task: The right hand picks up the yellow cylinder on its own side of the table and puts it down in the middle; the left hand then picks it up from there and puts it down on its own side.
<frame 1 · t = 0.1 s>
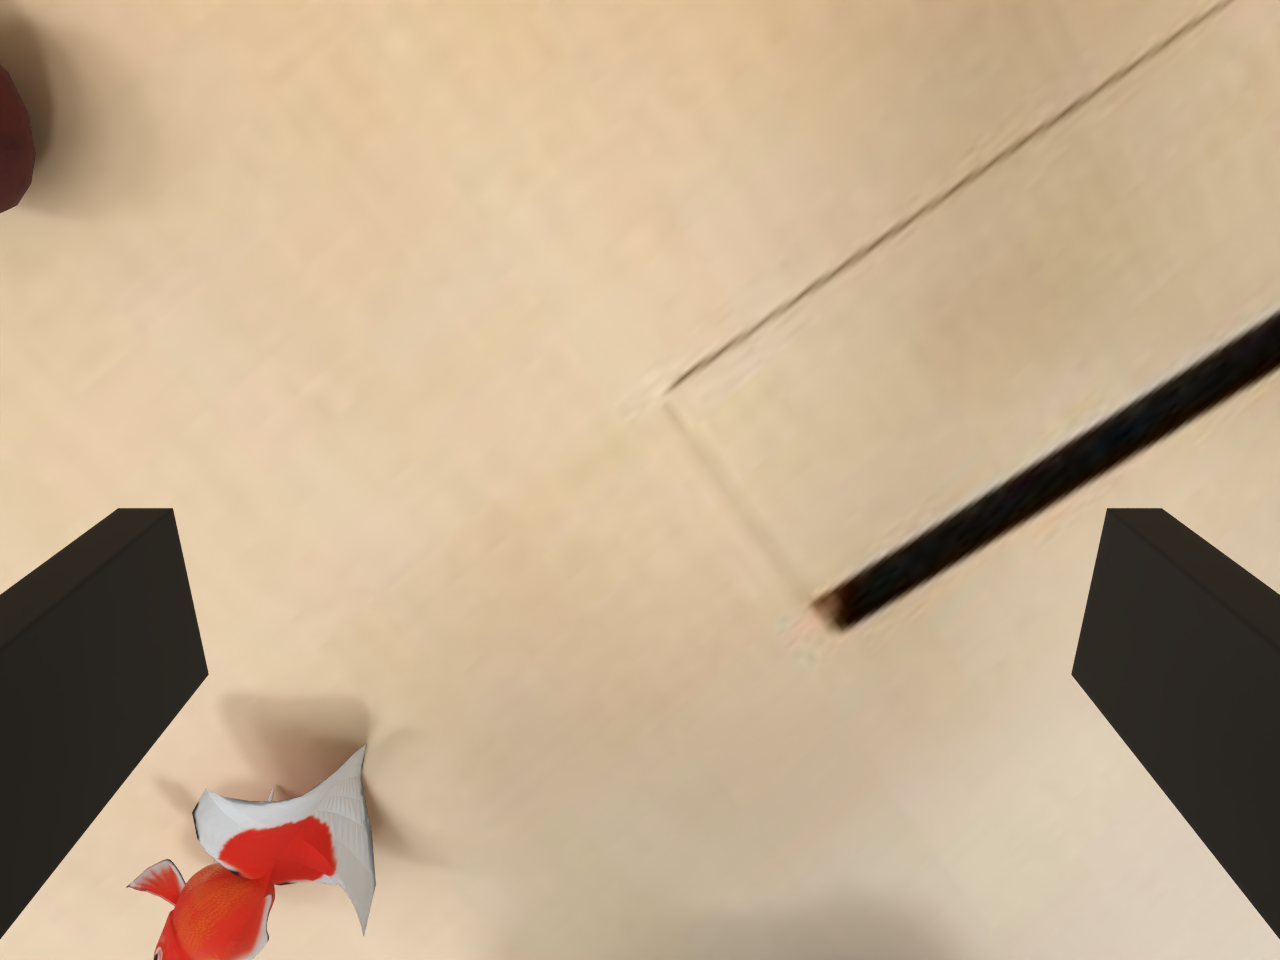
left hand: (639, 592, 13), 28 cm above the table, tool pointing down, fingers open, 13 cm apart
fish: (289, 805, 50), on the table
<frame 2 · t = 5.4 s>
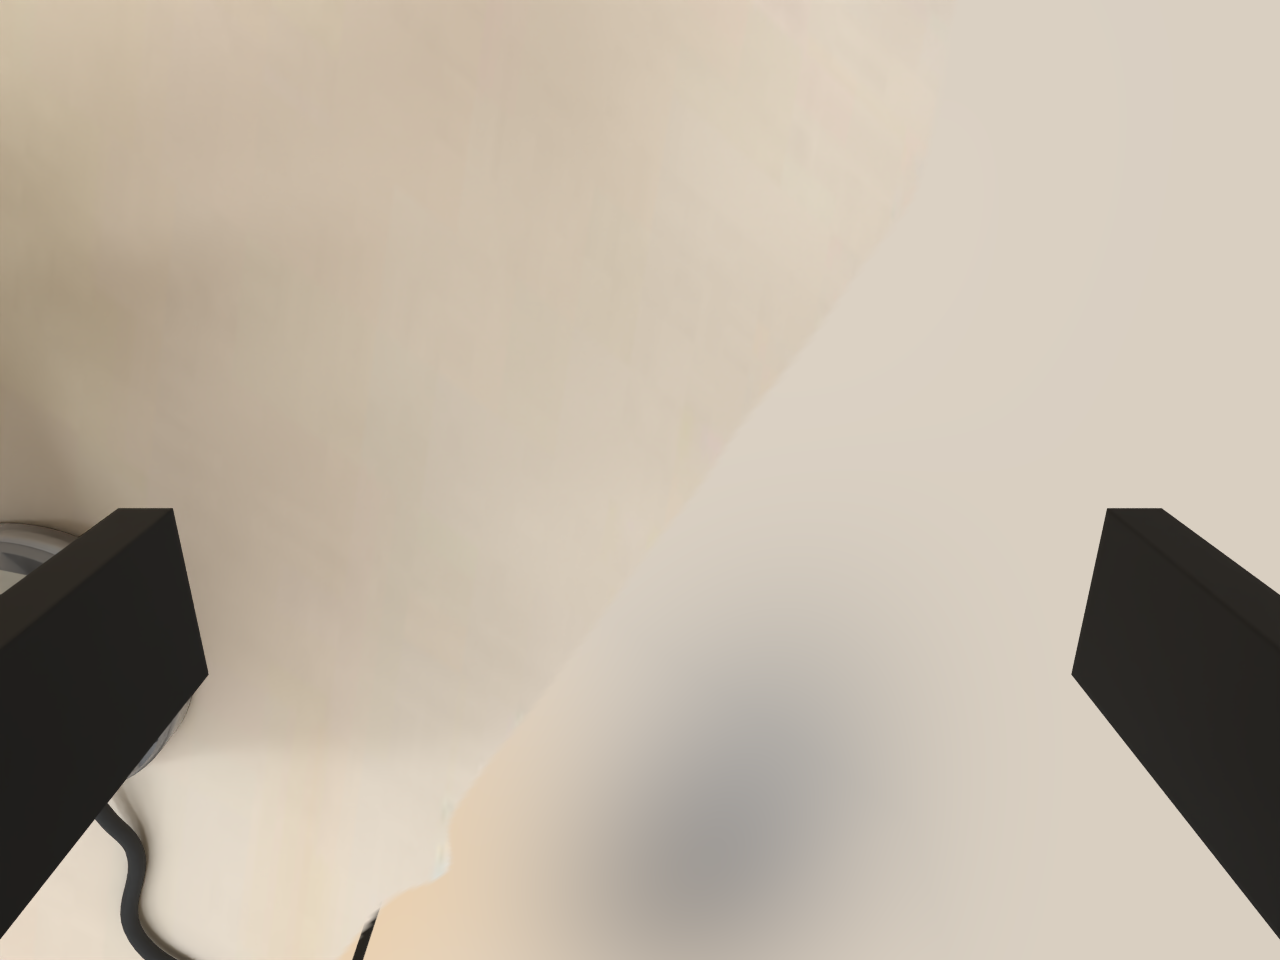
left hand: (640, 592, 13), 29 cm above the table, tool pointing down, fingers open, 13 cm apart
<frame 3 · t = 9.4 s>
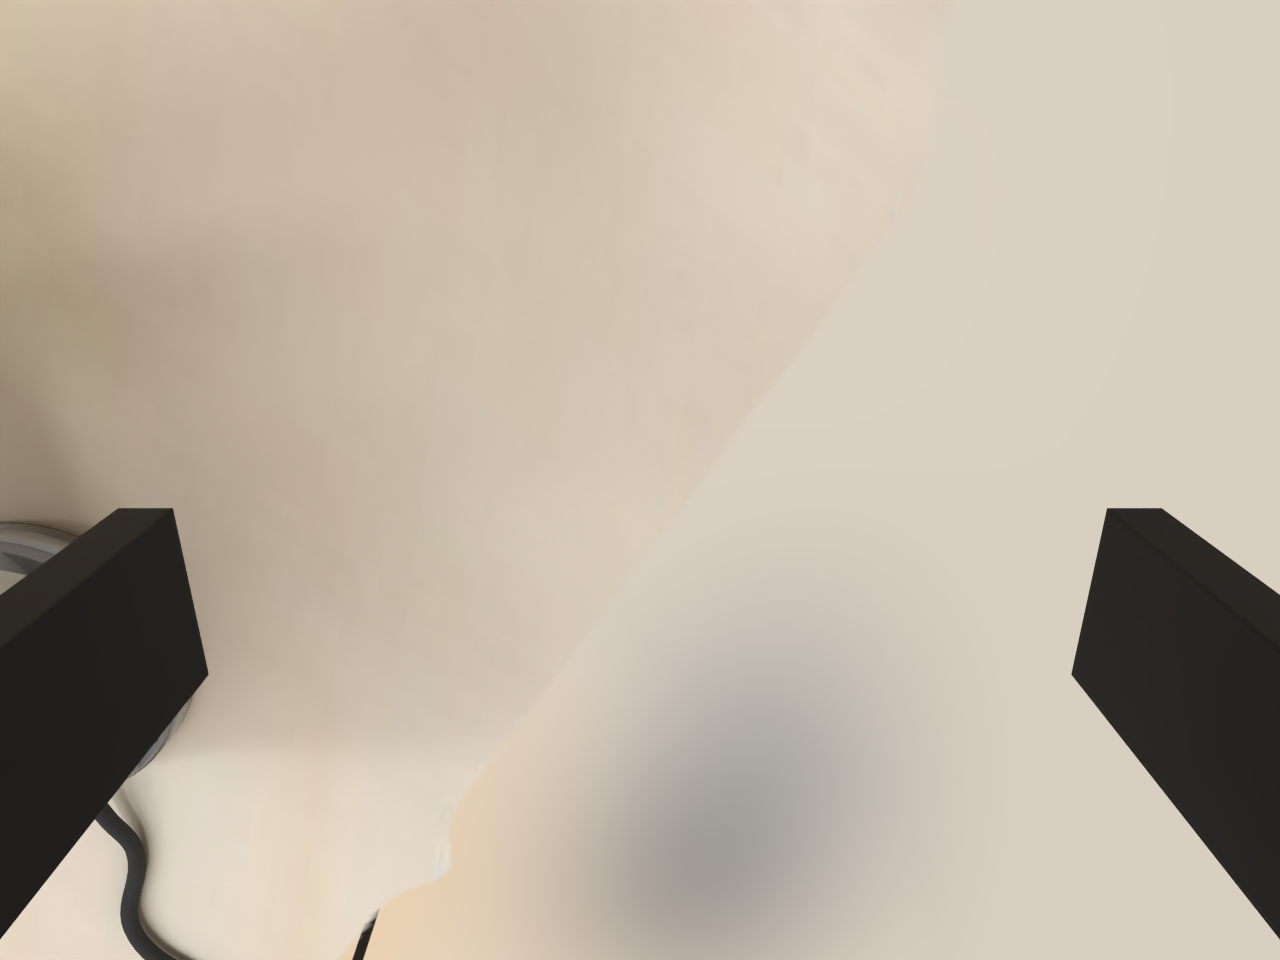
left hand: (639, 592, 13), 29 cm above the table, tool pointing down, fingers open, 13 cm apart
when the right hand's fingers open (1 cm above the table, at t = 13.4 s): yellow cylinder stays where it is, on the table.
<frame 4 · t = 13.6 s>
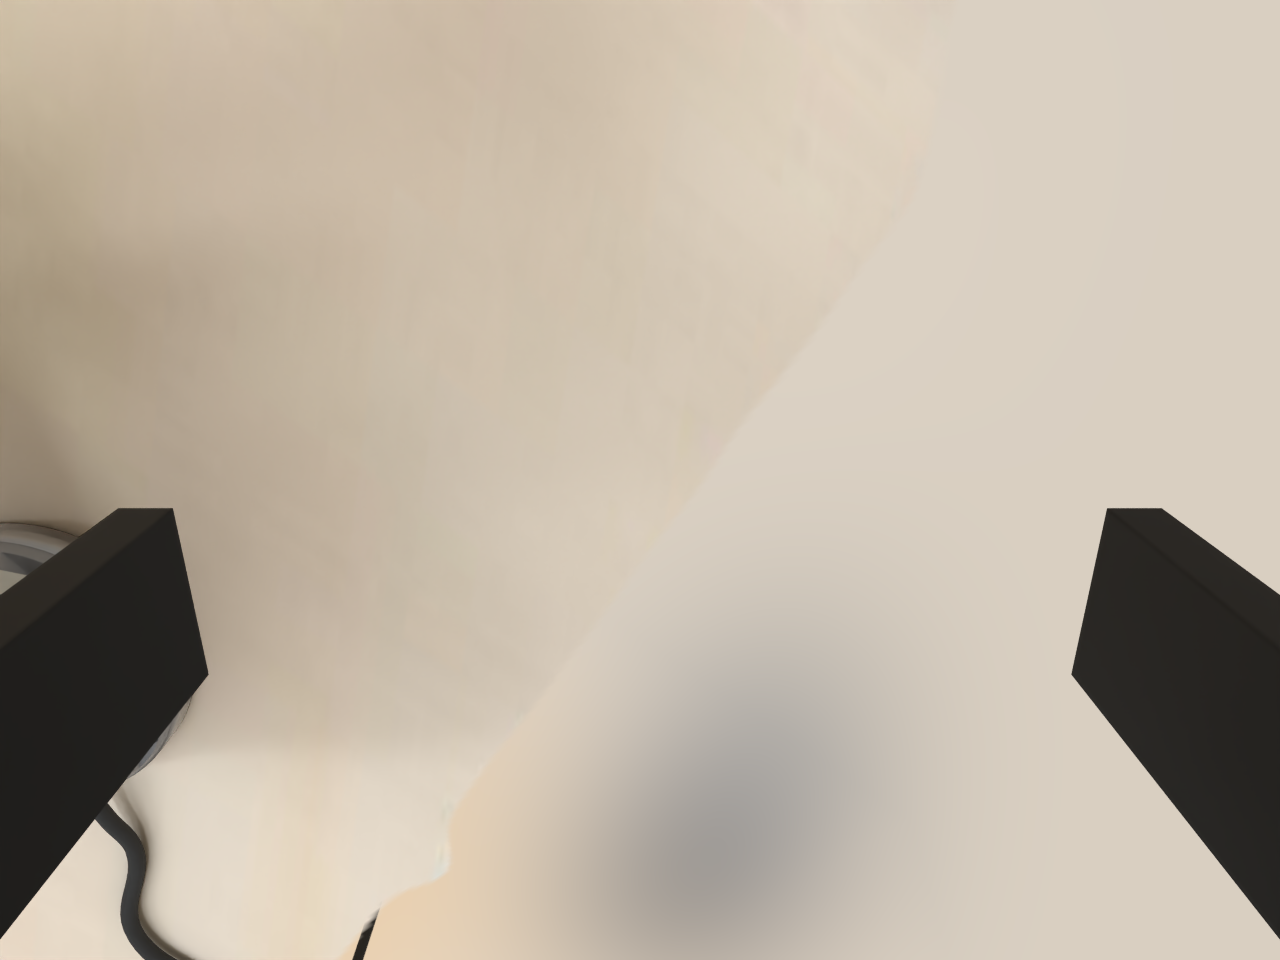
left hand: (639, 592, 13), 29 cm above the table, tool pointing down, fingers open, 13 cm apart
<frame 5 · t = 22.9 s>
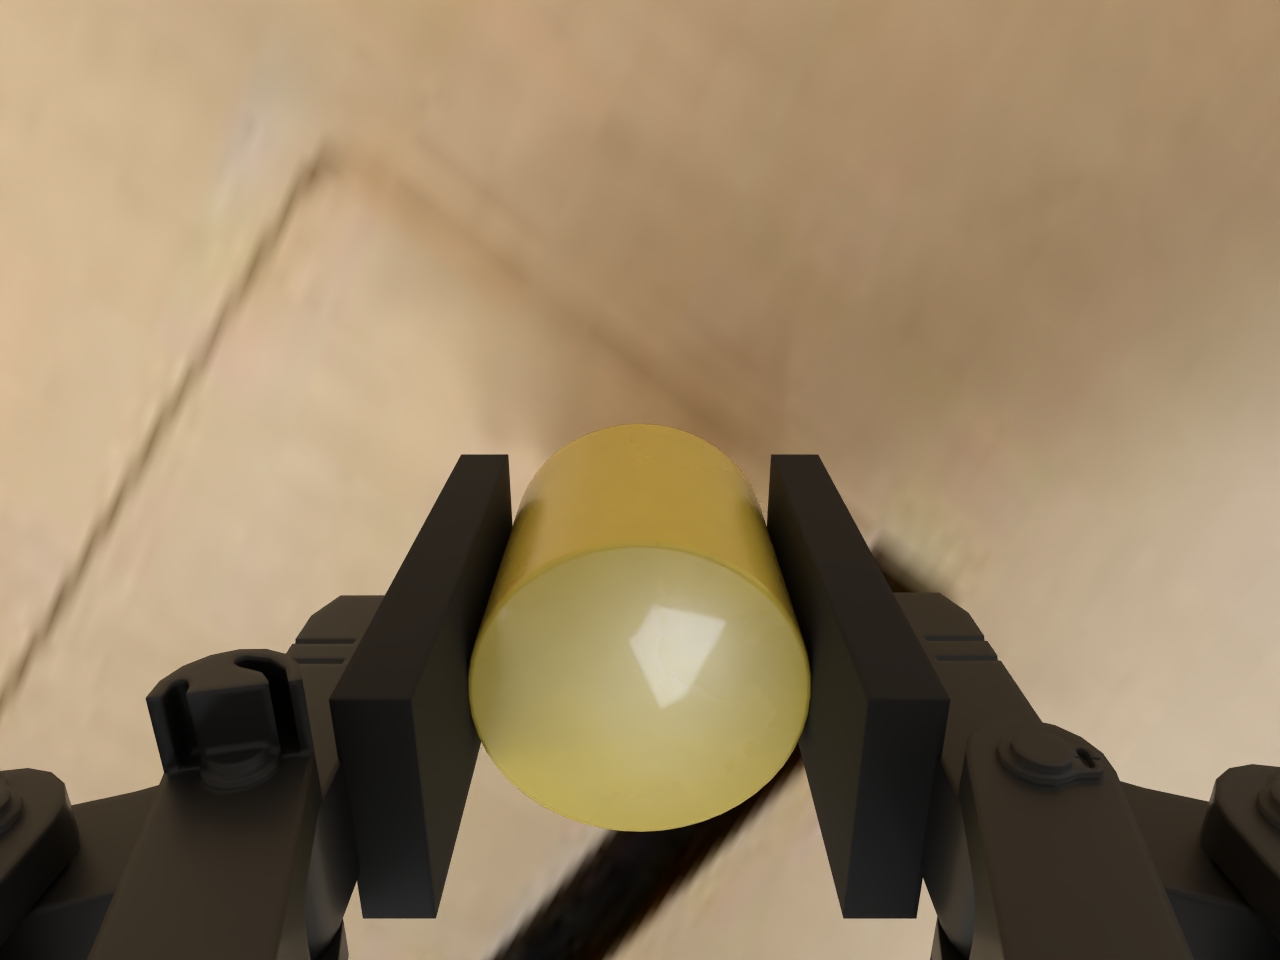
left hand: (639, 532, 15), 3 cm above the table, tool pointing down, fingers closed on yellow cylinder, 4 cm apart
yellow cylinder: (639, 541, 15), point 3 cm above the table, touching left hand
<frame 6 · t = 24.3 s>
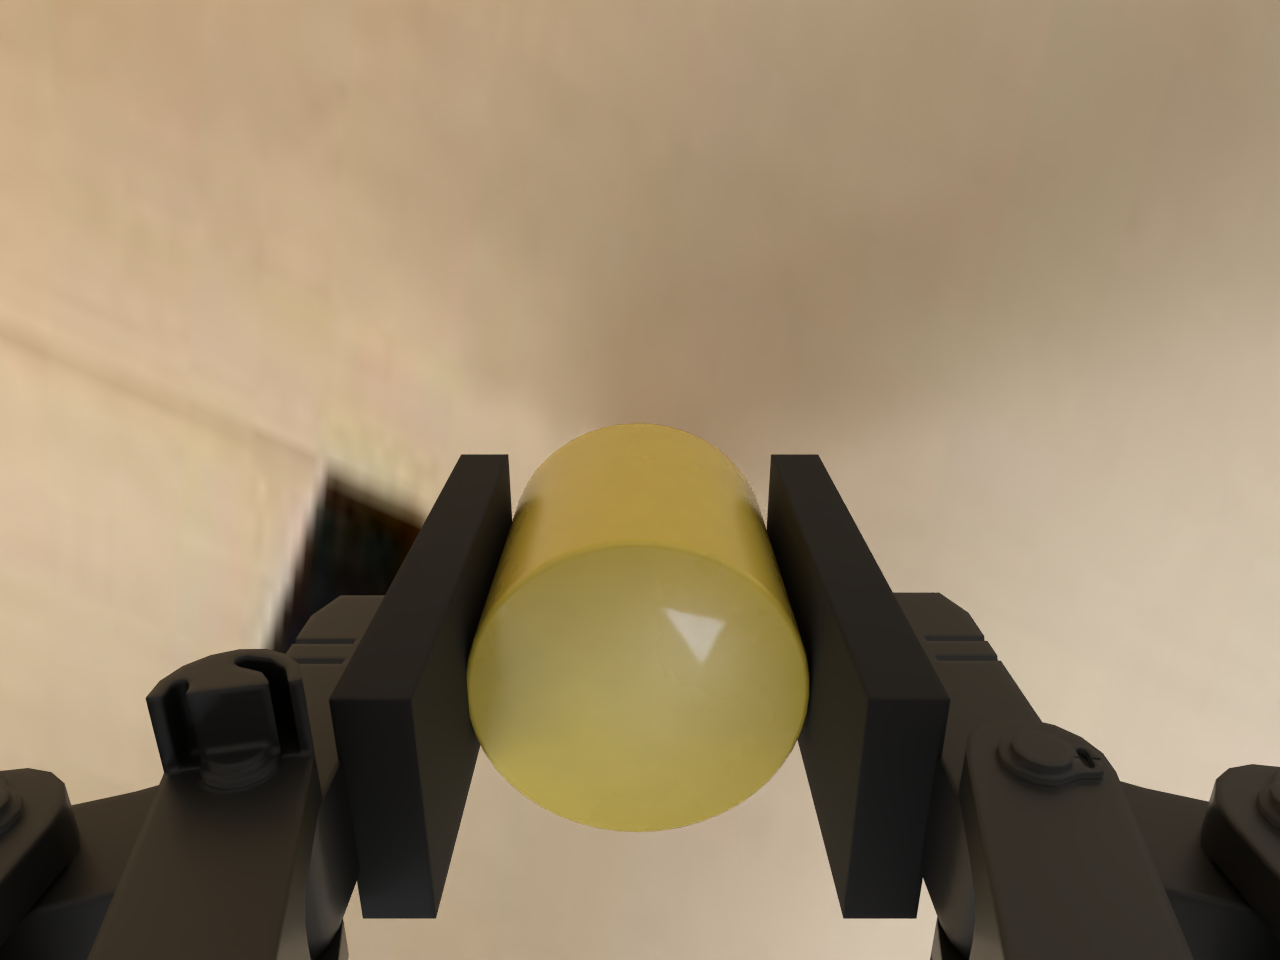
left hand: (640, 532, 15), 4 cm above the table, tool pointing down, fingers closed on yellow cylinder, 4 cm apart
yellow cylinder: (638, 541, 15), point 4 cm above the table, touching left hand
when the left hand's fingers open (1 cm above the table, at t = 25.9 s): yellow cylinder stays where it is, on the table.
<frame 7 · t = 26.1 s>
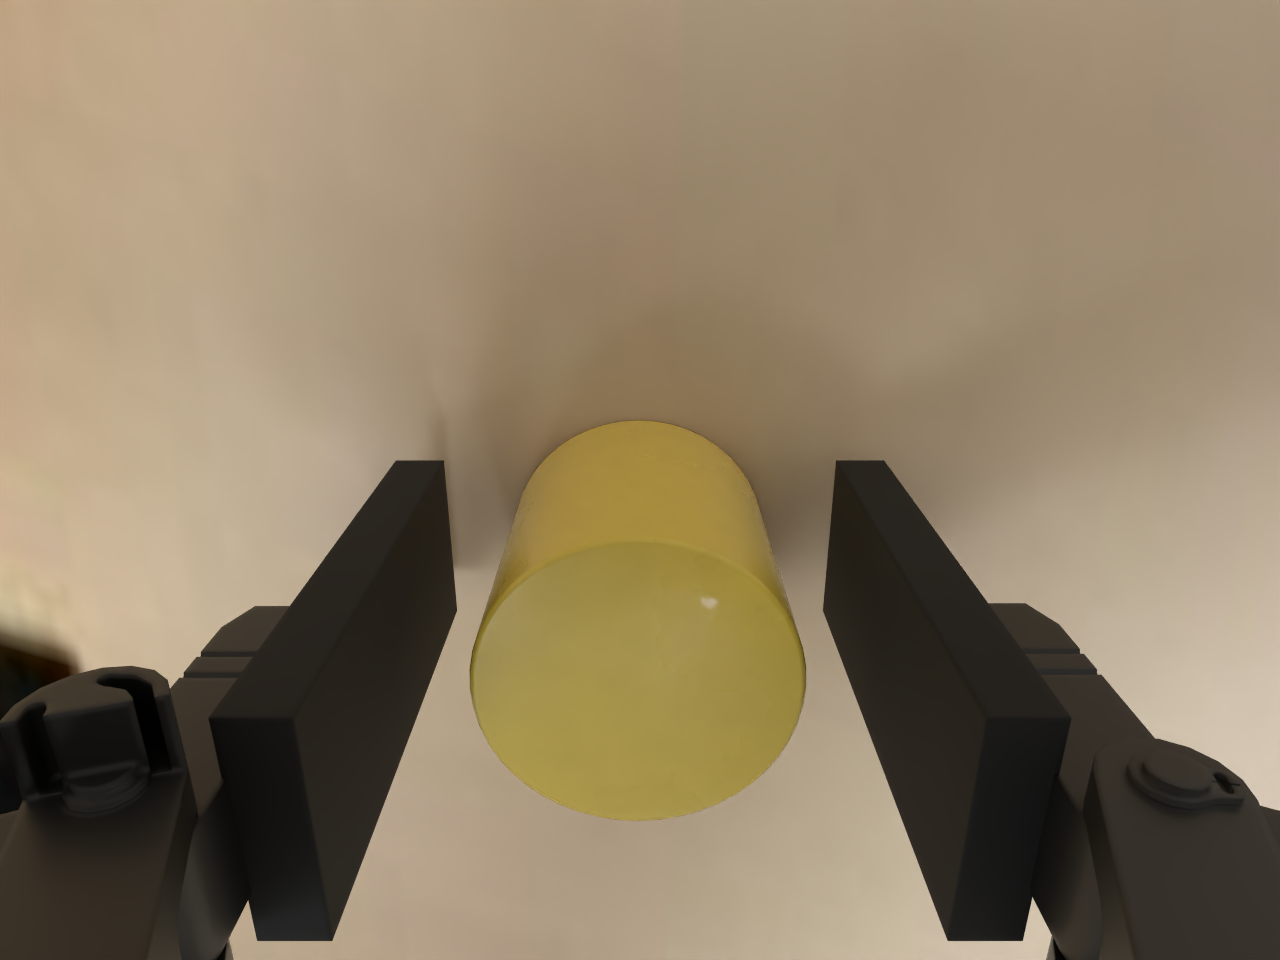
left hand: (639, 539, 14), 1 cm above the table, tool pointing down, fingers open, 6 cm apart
yellow cylinder: (638, 535, 15), on the table
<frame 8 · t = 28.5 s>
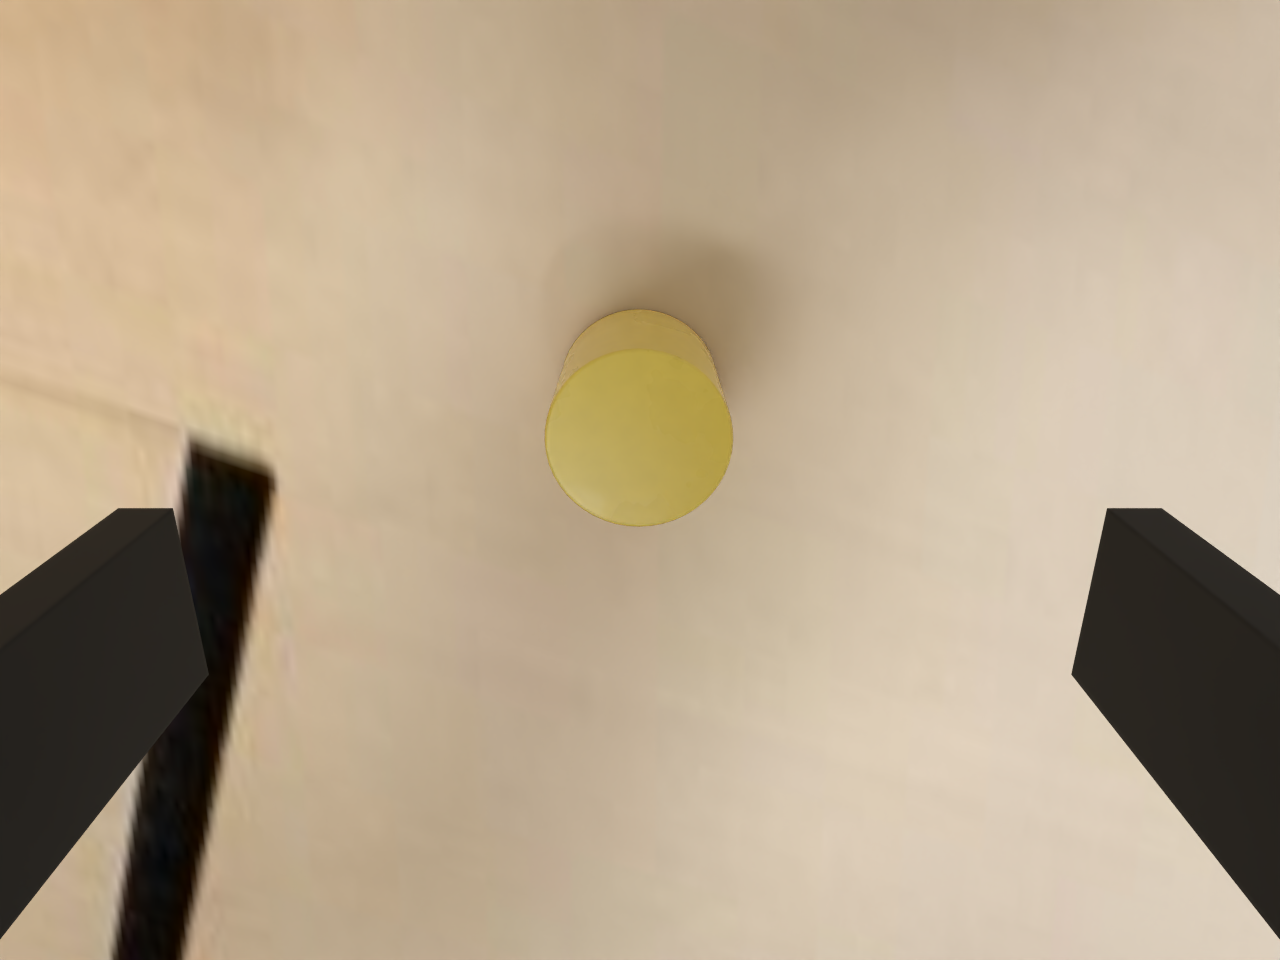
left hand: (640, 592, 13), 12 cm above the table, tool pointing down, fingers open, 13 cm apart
yellow cylinder: (639, 386, 24), on the table
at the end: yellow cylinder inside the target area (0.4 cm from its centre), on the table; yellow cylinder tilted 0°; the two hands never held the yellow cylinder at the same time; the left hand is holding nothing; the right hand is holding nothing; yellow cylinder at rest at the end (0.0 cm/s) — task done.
